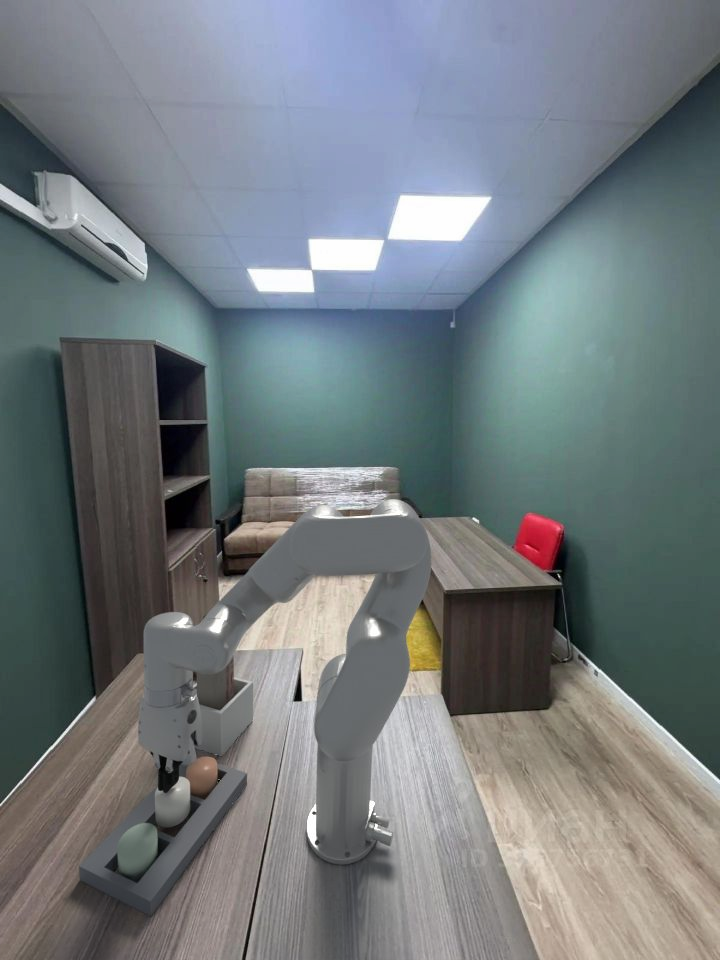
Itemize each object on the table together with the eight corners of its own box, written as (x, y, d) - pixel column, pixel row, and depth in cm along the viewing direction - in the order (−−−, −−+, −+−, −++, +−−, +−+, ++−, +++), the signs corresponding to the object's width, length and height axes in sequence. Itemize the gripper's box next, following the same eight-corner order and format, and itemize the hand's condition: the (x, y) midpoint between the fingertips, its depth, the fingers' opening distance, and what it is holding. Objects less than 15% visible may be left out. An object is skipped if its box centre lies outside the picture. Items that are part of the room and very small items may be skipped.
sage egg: (165, 853, 69) (165, 829, 68) (137, 888, 63) (136, 863, 63) (139, 841, 70) (138, 818, 70) (109, 874, 65) (108, 850, 65)
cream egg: (197, 804, 75) (196, 782, 75) (174, 832, 70) (173, 808, 70) (172, 794, 77) (171, 772, 77) (147, 821, 72) (147, 798, 71)
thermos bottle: (240, 721, 100) (239, 610, 97) (222, 746, 93) (221, 626, 89) (209, 716, 102) (208, 606, 98) (190, 740, 94) (188, 621, 90)
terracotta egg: (223, 781, 83) (223, 761, 82) (204, 805, 77) (204, 783, 77) (200, 773, 84) (199, 753, 84) (179, 795, 79) (179, 774, 79)
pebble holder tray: (246, 784, 83) (246, 773, 83) (151, 916, 60) (150, 901, 60) (189, 764, 87) (188, 753, 87) (79, 880, 65) (78, 865, 65)
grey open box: (252, 720, 101) (253, 681, 100) (221, 756, 90) (221, 713, 88) (211, 708, 105) (210, 670, 103) (176, 741, 93) (175, 700, 92)
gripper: (220, 686, 72) (218, 782, 74) (151, 665, 76) (151, 756, 79) (189, 713, 65) (188, 819, 67) (115, 689, 69) (117, 788, 72)
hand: (168, 785), depth 73 cm, fingers closed
